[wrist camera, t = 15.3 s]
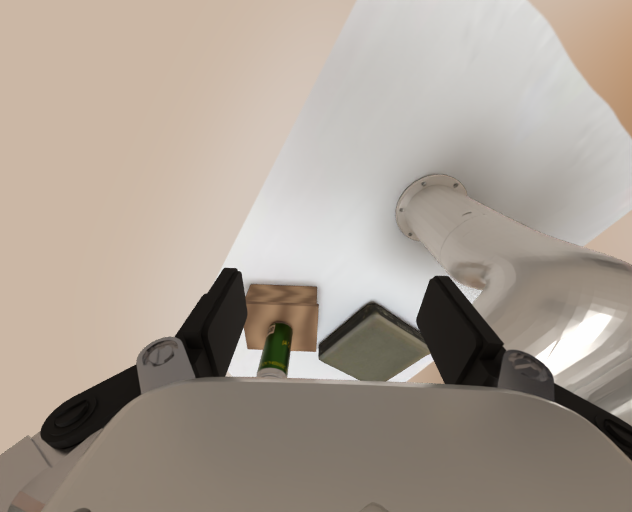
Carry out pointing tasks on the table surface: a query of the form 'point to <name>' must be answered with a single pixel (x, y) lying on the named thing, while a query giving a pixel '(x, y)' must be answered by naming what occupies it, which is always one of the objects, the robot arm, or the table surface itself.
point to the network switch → (373, 346)
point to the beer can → (276, 351)
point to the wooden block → (282, 314)
